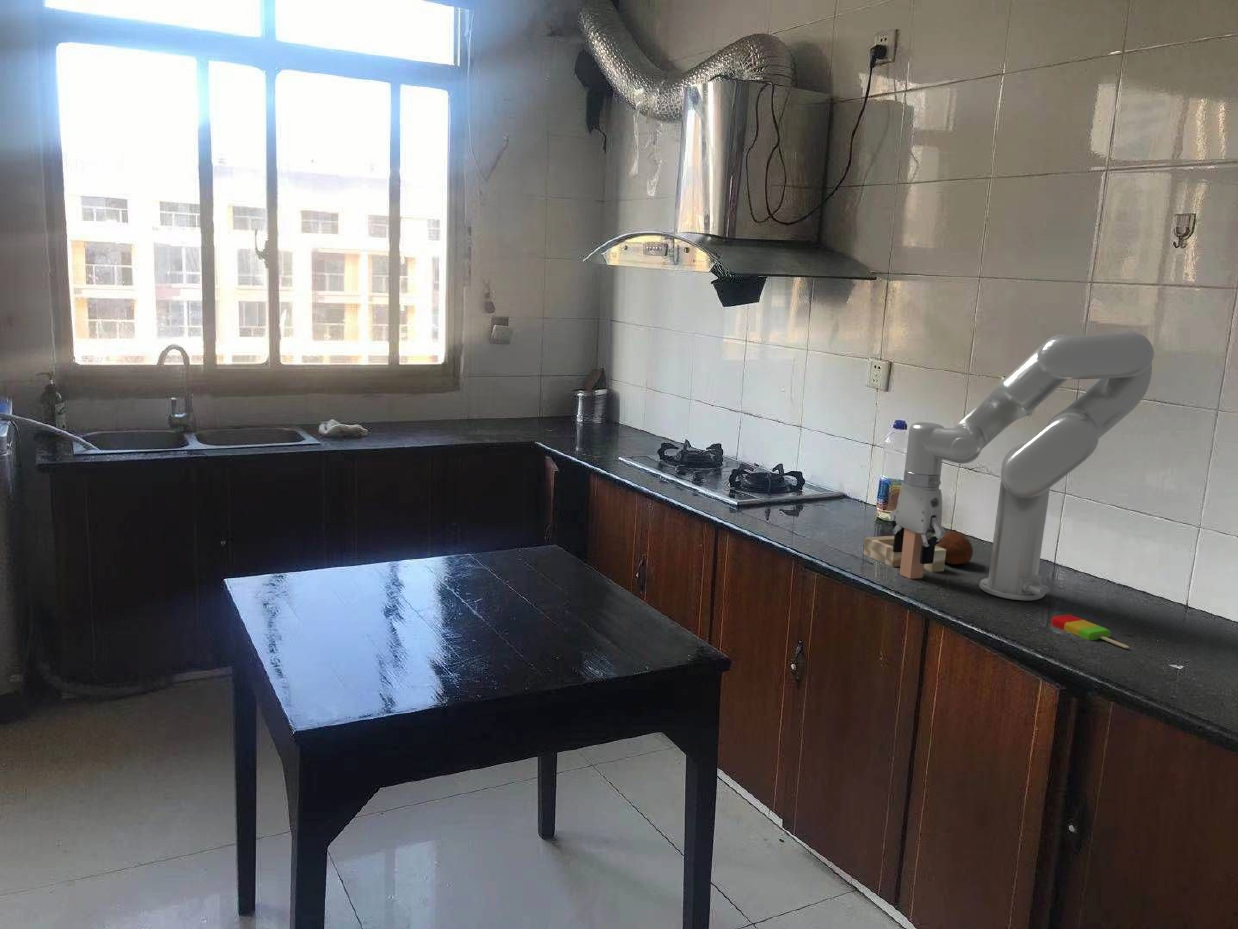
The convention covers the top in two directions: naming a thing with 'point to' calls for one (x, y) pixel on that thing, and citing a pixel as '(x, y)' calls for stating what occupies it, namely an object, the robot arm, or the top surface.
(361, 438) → the top surface
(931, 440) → the robot arm
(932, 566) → the short peg
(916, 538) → the long peg
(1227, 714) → the top surface
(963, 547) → the brown oval lump
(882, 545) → the slot block
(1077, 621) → the popsicle
